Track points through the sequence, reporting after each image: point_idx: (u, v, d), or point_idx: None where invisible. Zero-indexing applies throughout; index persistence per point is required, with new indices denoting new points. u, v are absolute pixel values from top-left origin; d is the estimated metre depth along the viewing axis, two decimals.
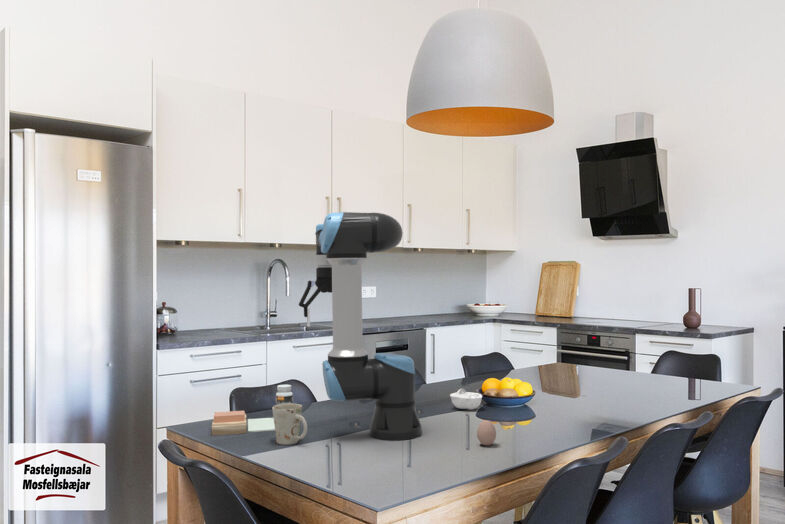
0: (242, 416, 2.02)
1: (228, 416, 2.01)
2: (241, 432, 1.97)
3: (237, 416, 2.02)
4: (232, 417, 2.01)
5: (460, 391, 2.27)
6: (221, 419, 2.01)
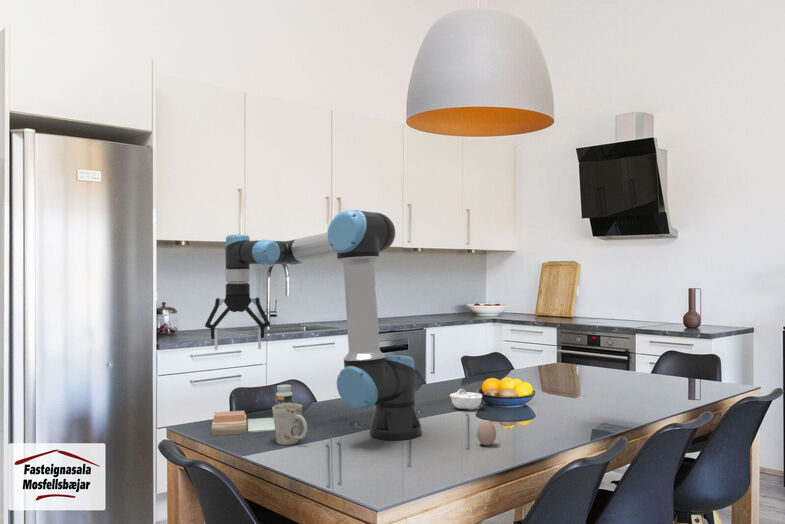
0: (242, 416, 2.02)
1: (228, 416, 2.01)
2: (241, 432, 1.97)
3: (237, 416, 2.02)
4: (232, 417, 2.01)
5: (460, 391, 2.27)
6: (221, 419, 2.01)
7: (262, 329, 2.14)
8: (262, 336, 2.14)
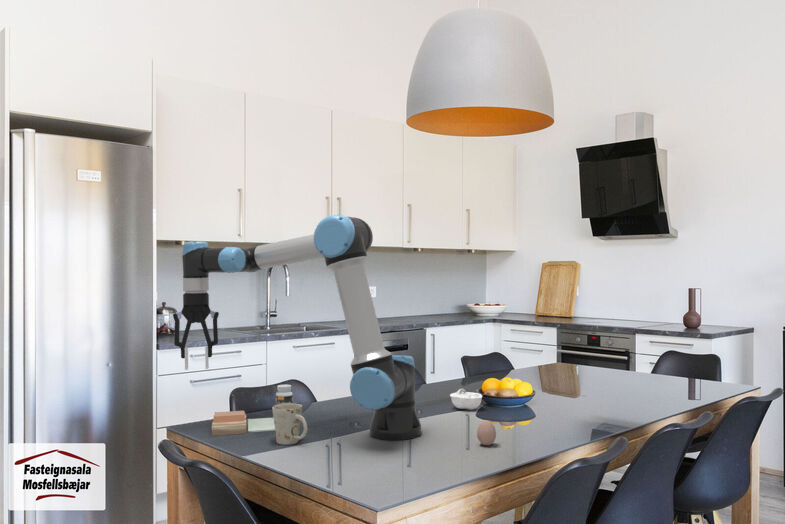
0: (242, 416, 2.02)
1: (228, 416, 2.01)
2: (241, 432, 1.97)
3: (237, 416, 2.02)
4: (232, 417, 2.01)
5: (460, 391, 2.27)
6: (221, 419, 2.01)
7: (209, 348, 2.02)
8: (210, 355, 2.02)
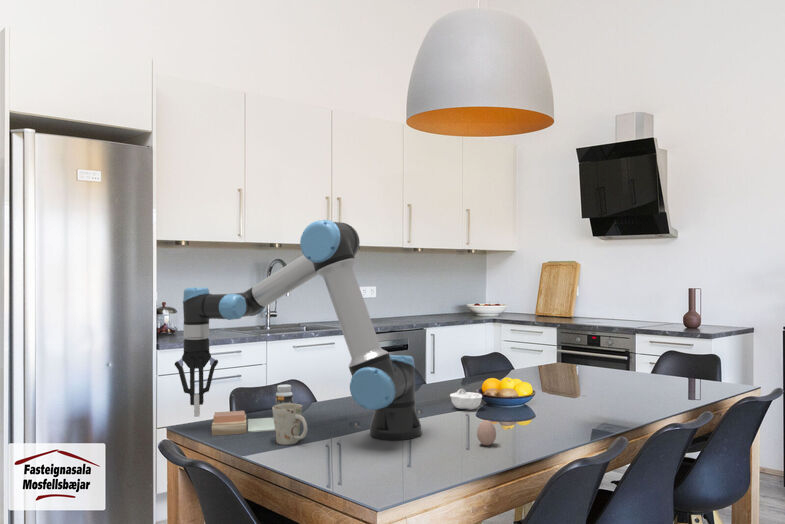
0: (242, 416, 2.02)
1: (228, 416, 2.01)
2: (241, 432, 1.97)
3: (237, 416, 2.02)
4: (232, 417, 2.01)
5: (460, 391, 2.27)
6: (221, 419, 2.01)
7: (201, 395, 2.02)
8: (201, 403, 2.02)
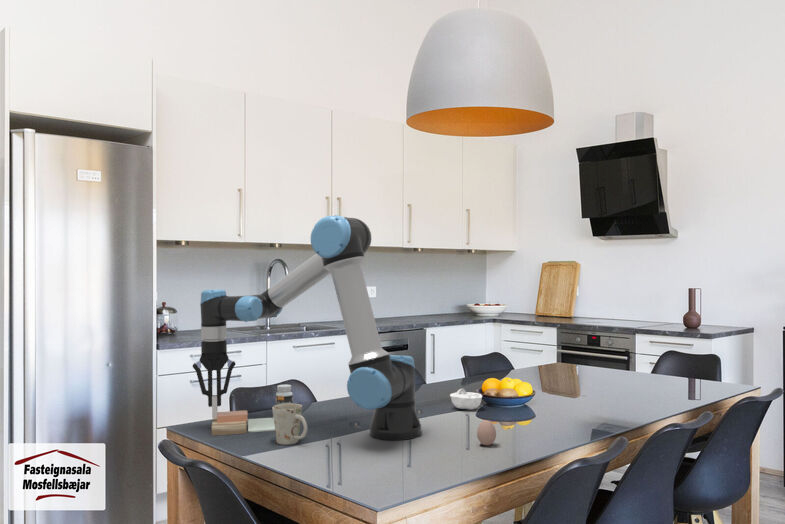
0: (245, 416, 2.02)
1: (231, 416, 2.01)
2: (241, 432, 1.97)
3: (240, 416, 2.02)
4: (235, 417, 2.02)
5: (460, 391, 2.27)
6: (225, 419, 2.01)
7: (219, 397, 2.03)
8: (219, 404, 2.03)
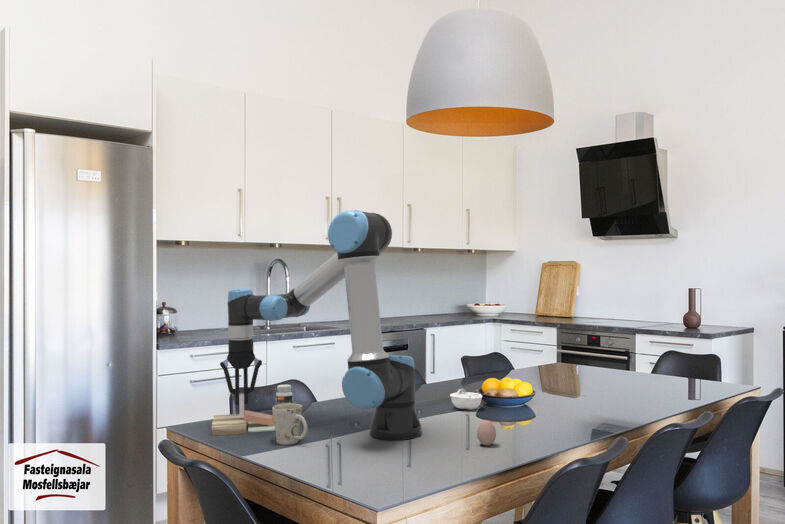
0: (272, 421, 2.04)
1: (258, 417, 2.03)
2: (241, 432, 1.97)
3: (267, 419, 2.04)
4: (262, 419, 2.03)
5: (460, 391, 2.27)
6: (252, 419, 2.03)
7: (246, 395, 2.04)
8: (246, 402, 2.04)
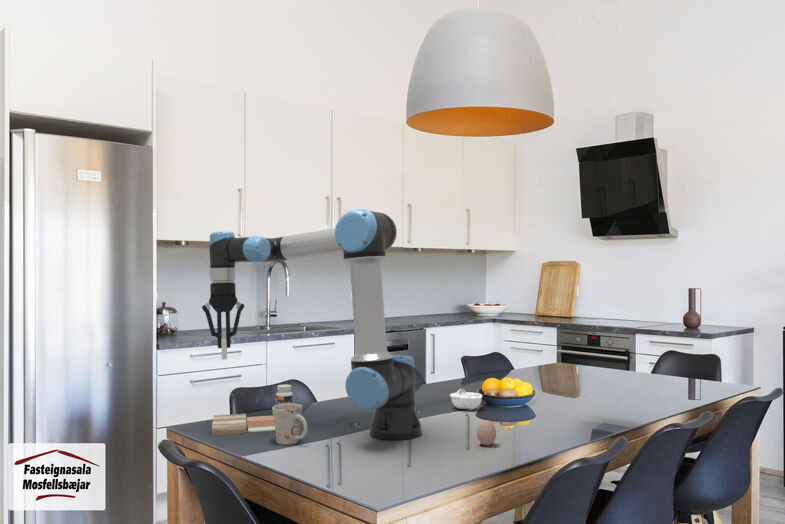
0: None
1: (261, 421, 2.03)
2: (241, 432, 1.97)
3: (270, 421, 2.04)
4: (265, 422, 2.03)
5: (460, 391, 2.27)
6: (254, 424, 2.03)
7: (228, 338, 2.03)
8: (228, 346, 2.03)
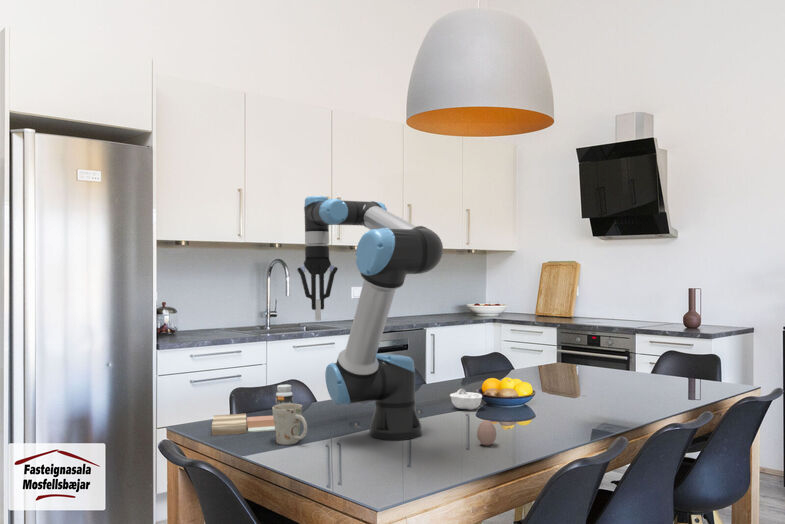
0: None
1: (261, 421, 2.03)
2: (241, 432, 1.97)
3: (270, 421, 2.04)
4: (265, 422, 2.03)
5: (460, 391, 2.27)
6: (254, 424, 2.03)
7: (322, 300, 2.09)
8: (322, 307, 2.09)
